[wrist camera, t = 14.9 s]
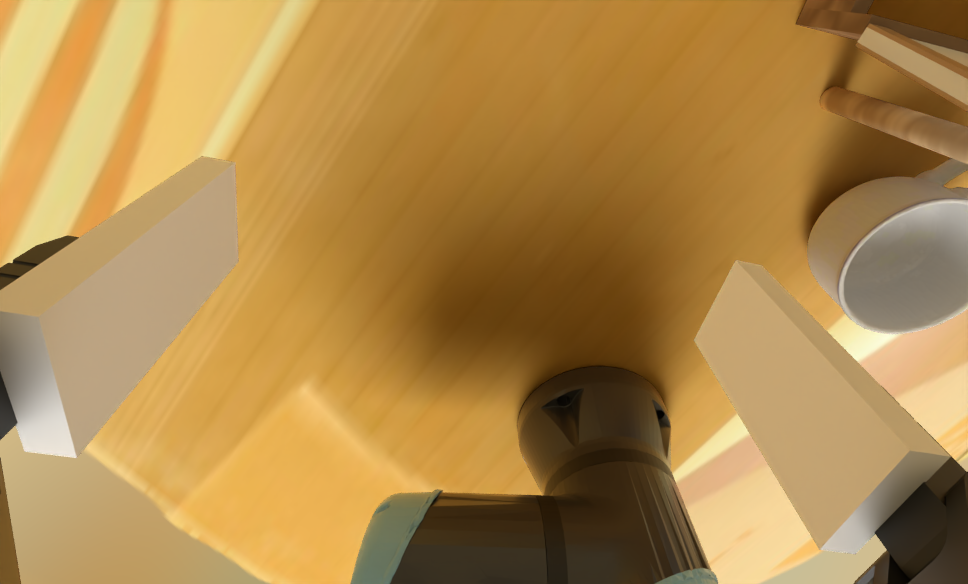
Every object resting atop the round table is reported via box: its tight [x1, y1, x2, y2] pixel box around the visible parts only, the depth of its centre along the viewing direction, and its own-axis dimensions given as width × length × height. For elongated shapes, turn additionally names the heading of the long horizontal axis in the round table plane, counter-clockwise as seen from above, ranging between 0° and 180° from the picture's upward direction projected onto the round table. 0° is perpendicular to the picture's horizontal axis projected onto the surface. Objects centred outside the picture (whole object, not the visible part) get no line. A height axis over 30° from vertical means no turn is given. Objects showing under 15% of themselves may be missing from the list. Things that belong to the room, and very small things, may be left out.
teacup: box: [807, 158, 968, 334], centre depth 39 cm, size 14×11×8 cm
